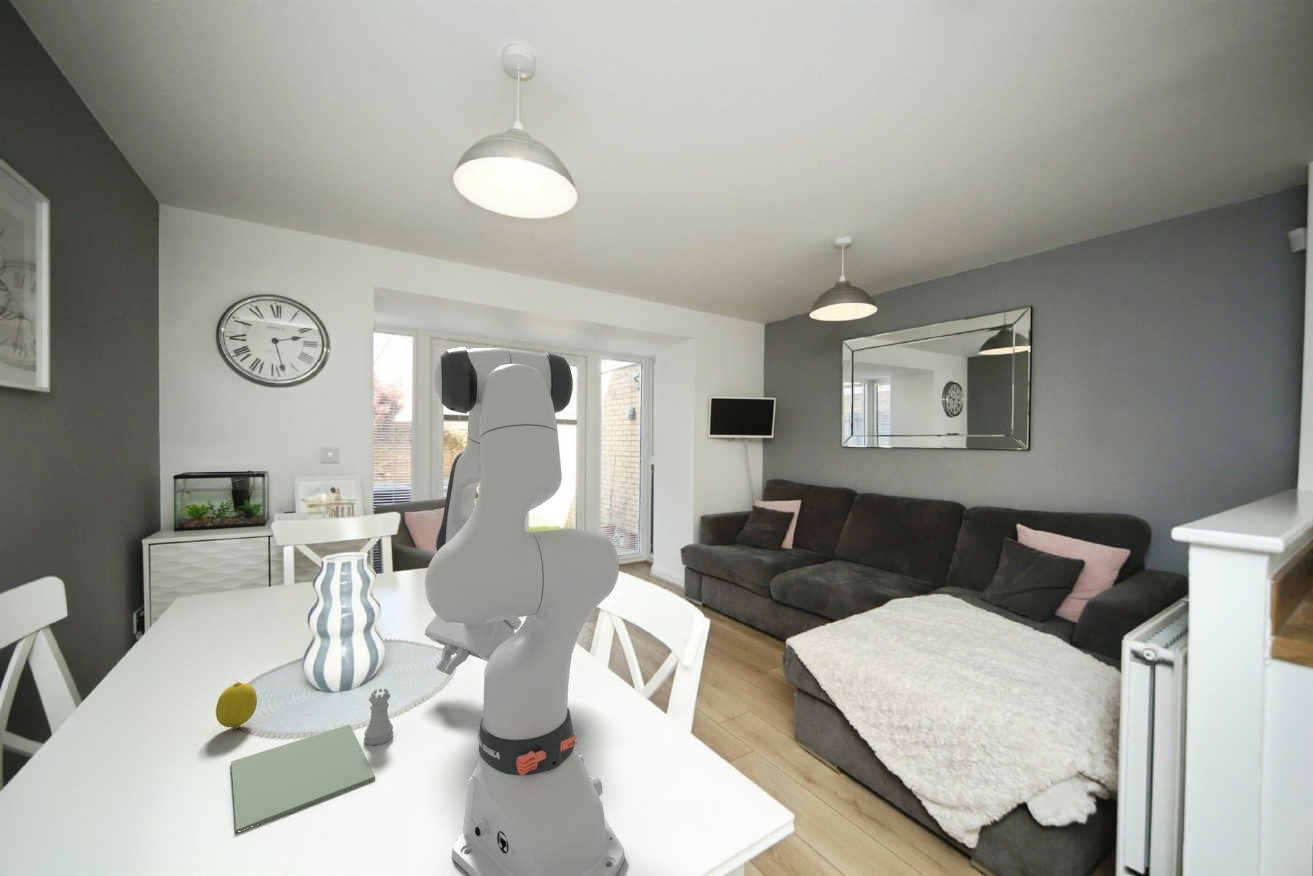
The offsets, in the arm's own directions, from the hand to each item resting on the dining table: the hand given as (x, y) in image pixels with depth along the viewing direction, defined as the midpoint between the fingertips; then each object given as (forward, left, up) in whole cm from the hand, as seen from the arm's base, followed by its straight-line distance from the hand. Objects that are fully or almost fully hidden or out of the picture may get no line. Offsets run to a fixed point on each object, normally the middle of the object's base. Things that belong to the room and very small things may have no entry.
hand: (442, 671), depth 96 cm
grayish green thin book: (-6, +23, -7) cm, 24 cm away
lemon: (+15, +30, -7) cm, 34 cm away
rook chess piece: (-4, +12, -7) cm, 14 cm away
